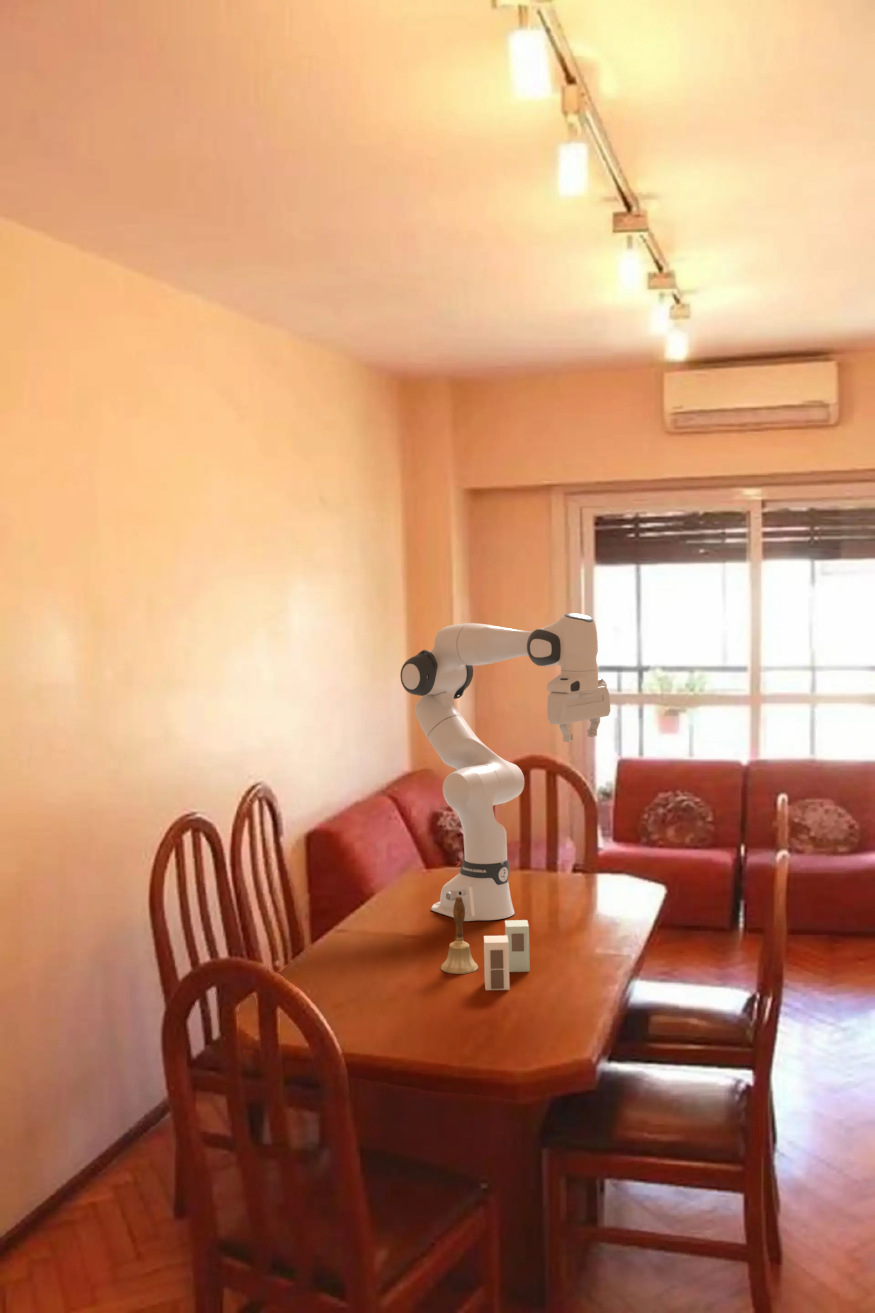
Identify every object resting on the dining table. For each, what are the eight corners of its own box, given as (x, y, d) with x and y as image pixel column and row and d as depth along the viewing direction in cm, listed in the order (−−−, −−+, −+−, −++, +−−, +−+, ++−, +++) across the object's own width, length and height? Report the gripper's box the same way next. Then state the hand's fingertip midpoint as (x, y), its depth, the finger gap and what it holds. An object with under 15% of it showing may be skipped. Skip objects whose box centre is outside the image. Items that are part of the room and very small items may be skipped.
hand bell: (483, 964, 255) (481, 893, 254) (471, 975, 247) (470, 903, 246) (447, 961, 258) (446, 891, 257) (435, 972, 250) (434, 900, 249)
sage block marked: (505, 964, 254) (504, 920, 254) (528, 964, 254) (527, 920, 254) (506, 972, 249) (506, 927, 248) (529, 972, 249) (528, 926, 248)
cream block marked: (484, 982, 243) (483, 936, 242) (508, 982, 243) (507, 935, 242) (485, 990, 237) (484, 943, 237) (509, 990, 237) (508, 942, 237)
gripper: (595, 677, 282) (596, 732, 283) (542, 684, 267) (543, 743, 268) (616, 678, 277) (616, 734, 278) (563, 686, 263) (564, 745, 264)
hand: (580, 739), depth 273 cm, fingers open, 8 cm apart
